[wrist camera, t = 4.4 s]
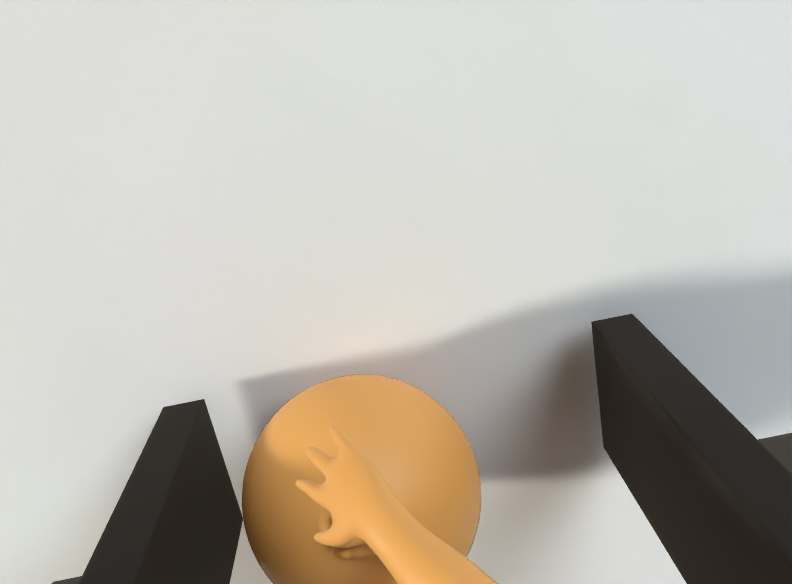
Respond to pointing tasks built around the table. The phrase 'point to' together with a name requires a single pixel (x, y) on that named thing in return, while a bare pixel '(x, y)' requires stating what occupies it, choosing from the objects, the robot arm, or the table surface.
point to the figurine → (363, 488)
